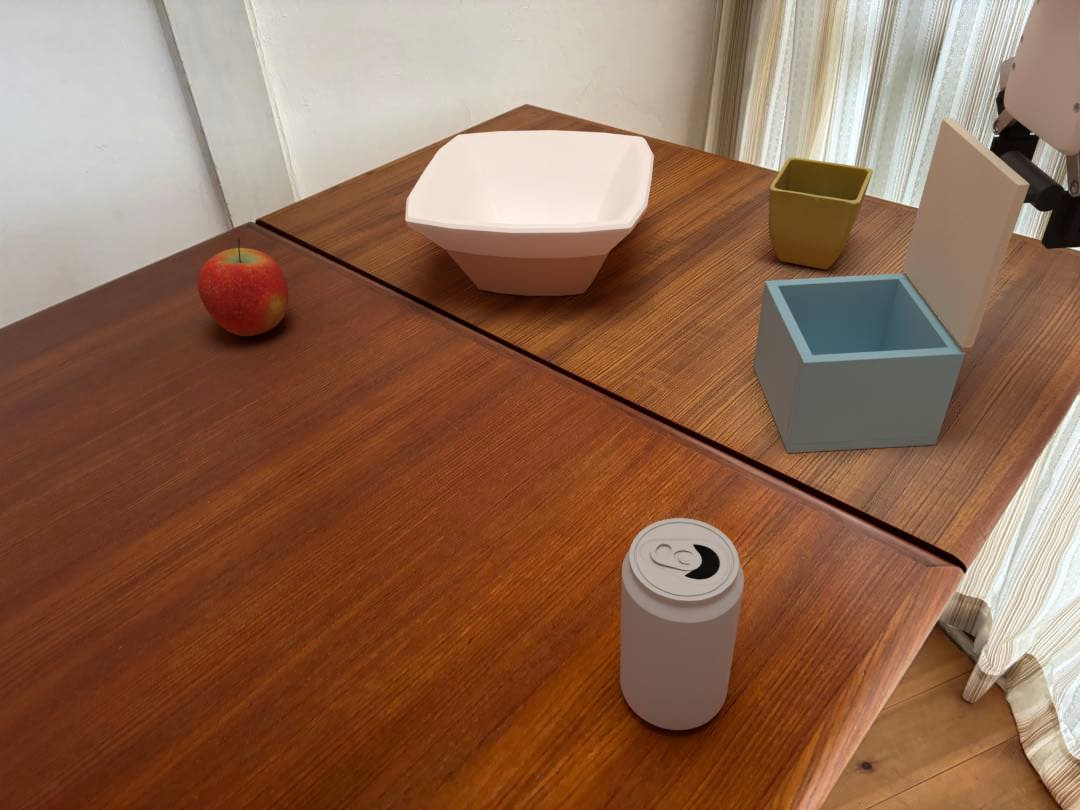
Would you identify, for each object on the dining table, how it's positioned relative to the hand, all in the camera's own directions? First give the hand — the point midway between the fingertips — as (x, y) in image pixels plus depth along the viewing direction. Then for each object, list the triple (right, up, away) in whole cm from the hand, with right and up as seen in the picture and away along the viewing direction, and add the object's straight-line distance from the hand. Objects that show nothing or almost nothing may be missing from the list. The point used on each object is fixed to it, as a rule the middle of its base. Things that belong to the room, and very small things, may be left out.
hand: (1031, 214), depth 61 cm
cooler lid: (-5, -1, +1) cm, 6 cm away
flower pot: (-7, +2, +30) cm, 31 cm away
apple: (-64, -6, +24) cm, 69 cm away
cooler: (-10, -14, +10) cm, 20 cm away
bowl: (-36, +1, +31) cm, 48 cm away
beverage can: (-28, -31, -10) cm, 43 cm away
